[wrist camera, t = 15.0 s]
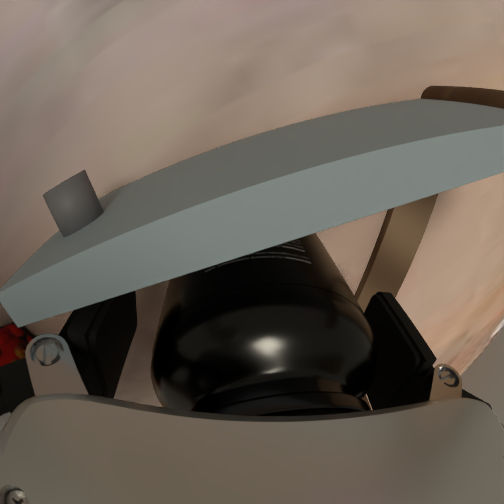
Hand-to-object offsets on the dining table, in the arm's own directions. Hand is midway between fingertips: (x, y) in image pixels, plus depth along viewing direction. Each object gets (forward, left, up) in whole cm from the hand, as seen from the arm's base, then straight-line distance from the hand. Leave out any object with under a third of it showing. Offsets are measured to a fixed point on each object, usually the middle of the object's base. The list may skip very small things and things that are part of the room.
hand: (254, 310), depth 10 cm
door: (-6, -1, -4) cm, 8 cm away
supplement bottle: (0, 0, -5) cm, 5 cm away
